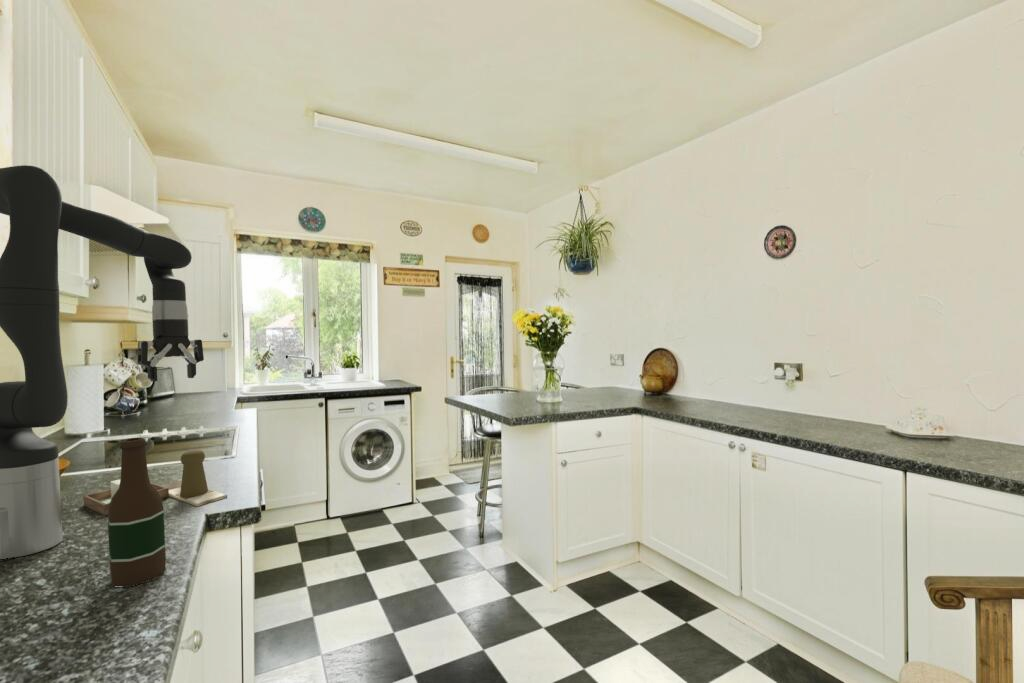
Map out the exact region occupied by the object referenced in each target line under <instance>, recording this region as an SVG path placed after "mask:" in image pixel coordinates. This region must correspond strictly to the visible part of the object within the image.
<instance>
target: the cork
mask: <svg viewBox="0 0 1024 683" xmlns="http://www.w3.org/2000/svg"><path fill="white" fill-rule="evenodd" d="M205 458H206V454H205V452H204V451H203V450H200V449H192V450H188V451H185V452H183V453H181V456H180V462H181V464H182V465H183V466H182V468H183V469H182V476H181V481H182V483H181V492H180V496H181V497H193V496H198V495H202V494H204V493H206V492H208V489H209V488H208V482H207V478H206V472H205V467H204V461H205Z"/></svg>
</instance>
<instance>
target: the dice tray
mask: <svg viewBox="0 0 1024 683" xmlns="http://www.w3.org/2000/svg"><path fill="white" fill-rule="evenodd" d="M150 484H151V485H152V486H153V487H154V488H155V489H156V490H157V491H158V493H159V495H160V497H161V499H162V500H165V499H169V498H170V496H169V490H168V488H167V487H164V486H163V485H161V484H158V483H155V482H151V481H150ZM82 497H83V506H84V507H86V508H88V509H90V510H92V511H94V512H96V513H99V514H100V515H102V516H108V507H109V504H110V502H111V488H109V489H105V490H102V491H97V492H94V493H89V494H85V495H83V496H82Z"/></svg>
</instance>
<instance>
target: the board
mask: <svg viewBox="0 0 1024 683" xmlns="http://www.w3.org/2000/svg"><path fill="white" fill-rule="evenodd" d="M181 483H182V480H179V481H174V482H170V483H167V484H164V485H162V486H164V487H167V488H168V490H169V498H173V499H175V500H178V501H181V502H183V503H184V502H185V503H187V504H189V505H192V506H195V507H200V506H203V505H206V504H210V503H213V502H216V501H219V500H223V499H225V498H228V494H226V493H223V492H220V491H217V490H212V489H209V488H208V492H206V493H204V494H202V495H198V496H193V497H181V496H180V492H181Z"/></svg>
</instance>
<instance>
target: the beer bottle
mask: <svg viewBox="0 0 1024 683" xmlns="http://www.w3.org/2000/svg"><path fill="white" fill-rule="evenodd" d="M147 445H148V443H147V441H146V439H145V437H132V438H126V439H123V440H121V441H120V444H119V449H121V456H120V458H121V459H120V460H121V463H120V479H121V480H120V486H119V489H118V490H117V491H116V493H115V494H114V496H113V497H112V499H111V502H110V504H109V507H108V515H107V530H108V531H107V532H108V556H109V557H108V558H109V559H108V560H109V572H110V580H111V583H112V586H113V588H114V587H115V586H133V585H136V584H140V583H142V582H146V581H148V580H152V579H154V578H155V577H157V576H158V575H159V574H161V573H162V572H164V573H165V571H166V560H167V557H166V537H165V536H166V534H165V533H166V532H165V512H164V504H163V499H161V497H160V495H159V493H158V491H157V490H156V489H155V488H154V487H153V486H152V485H151V484H150V482H151V481H150V477H149V471H148V470H149V469H148V464H147V463H148V462H147V456H146V455H147V454H146V447H145V446H147ZM162 574H163V573H162ZM162 574H161V575H162ZM159 576H160V575H159ZM159 576H158V577H159ZM158 577H157V578H158ZM155 579H156V578H155ZM155 579H154V580H155ZM152 581H153V580H152ZM146 583H147V582H146ZM140 585H141V584H140Z"/></svg>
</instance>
